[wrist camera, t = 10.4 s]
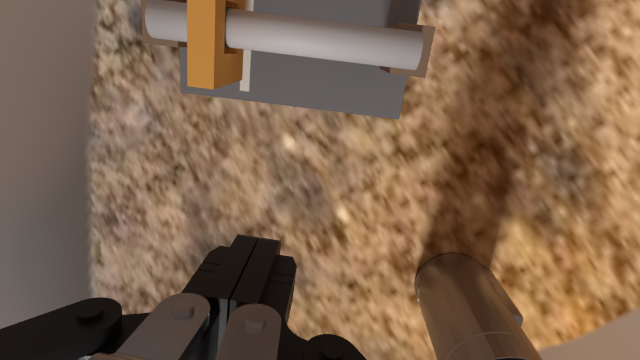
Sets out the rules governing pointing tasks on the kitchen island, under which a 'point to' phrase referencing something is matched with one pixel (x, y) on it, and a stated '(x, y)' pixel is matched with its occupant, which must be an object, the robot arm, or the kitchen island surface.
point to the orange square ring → (211, 45)
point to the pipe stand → (310, 51)
